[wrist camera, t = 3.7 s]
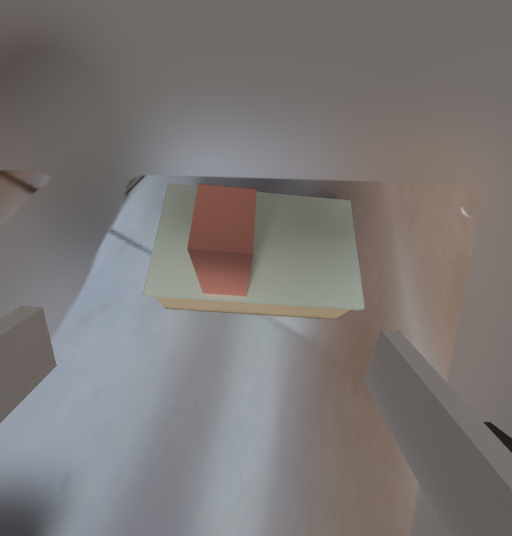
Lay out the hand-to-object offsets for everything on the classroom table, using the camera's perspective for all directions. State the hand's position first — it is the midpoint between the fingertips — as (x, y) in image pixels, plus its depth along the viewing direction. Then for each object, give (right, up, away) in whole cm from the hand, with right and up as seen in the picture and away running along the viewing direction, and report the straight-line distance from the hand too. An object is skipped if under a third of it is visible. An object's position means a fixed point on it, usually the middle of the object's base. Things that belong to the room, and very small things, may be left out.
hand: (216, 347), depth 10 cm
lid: (+2, +6, +17) cm, 18 cm away
